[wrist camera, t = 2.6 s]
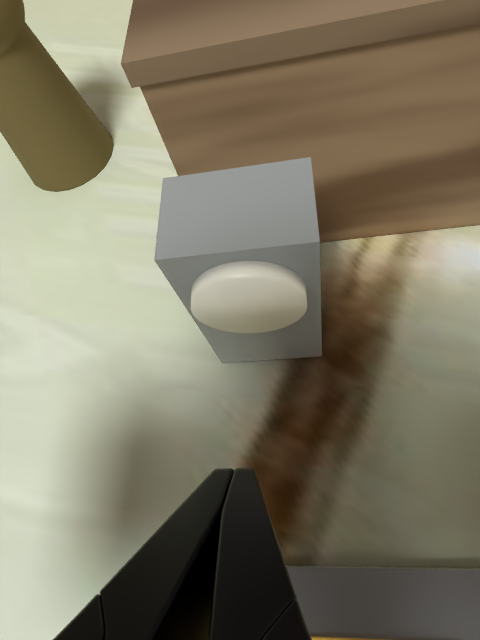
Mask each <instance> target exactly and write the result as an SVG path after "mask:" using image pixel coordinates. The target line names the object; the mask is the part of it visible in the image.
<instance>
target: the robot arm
mask: <svg viewBox="0 0 480 640" xmlns="http://www.w3.org/2000/svg"><path fill="white" fill-rule="evenodd" d="M53 640H312V638H311V636H310V633H309V630H308V628H307V625H306V622H305V619H304V616H303V613H302V610H301V607H300V604H299V602H298V600H297V596H296V593H295V590H294V587H293V584H292V581H291V578H290V575H289V572H288V569H287V566H286V563H285V560H284V557H283V554H282V551H281V548H280V545H279V542H278V539H277V536H276V533H275V530H274V527H273V524H272V521H271V518H270V515H269V512H268V509H267V506H266V503H265V500H264V497H263V494H262V491H261V488H260V485H259V482H258V479H257V476H256V473H255V471H254V469H253V468H237V469H235V470H233V469H231V468H229V469H215V470H214V471H212V473H211V474H210V475H209V476H208V477H207V478H206V479H205V480H204V481H203V482H202V483H201V484H200V485H199V486H198V487H197V488H196V490H195V491H194V492H193V493H192V494H191V495H190V496H189V497H188V498H187V499H186V500H185V501H184V502H183V503H182V504H181V505H180V507H179V508H178V509H177V510H176V511H175V512H174V513H173V514H172V515H171V516H170V517H169V518H168V519H167V520H166V521H165V523H164V524H163V525H162V526H161V527H160V528H159V529H158V530H157V531H156V532H155V533H154V534H153V535H152V536H151V537H150V538H149V540H148V541H147V542H146V543H145V544H144V545H143V546H142V547H141V548H140V549H139V550H138V551H137V552H136V553H135V554H134V555H133V557H132V558H131V559H130V560H129V561H128V562H127V563H126V564H125V565H124V566H123V567H122V568H121V569H120V570H119V571H118V573H117V574H116V575H115V576H114V577H113V578H112V579H111V580H110V581H109V582H108V583H107V584H106V585H105V586H104V587H103V588H102V590H101V591H100V595H99V594H97V595H96V596H95V597H94V598H93V599H92V600H91V601H90V602H89V603H88V604H87V605H86V606H85V607H84V608H83V610H82V611H81V612H80V613H79V614H78V615H77V616H76V617H75V618H74V619H73V620H72V621H71V622H70V623H69V624H68V625H67V626H66V627H65V628H64V629H63V630H62V631H61V632H60V633H59V634H58V635H57V636H56V637H55V638H54V639H53Z"/></svg>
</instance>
